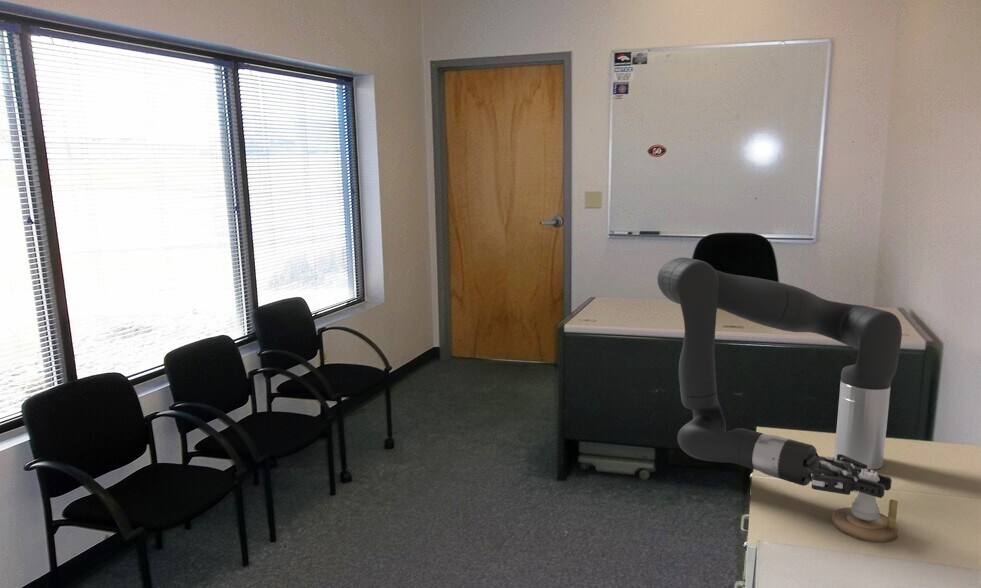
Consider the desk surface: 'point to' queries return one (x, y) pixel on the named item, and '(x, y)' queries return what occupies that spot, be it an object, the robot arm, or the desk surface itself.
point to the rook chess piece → (866, 500)
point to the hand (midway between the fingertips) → (886, 488)
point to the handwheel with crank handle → (868, 525)
